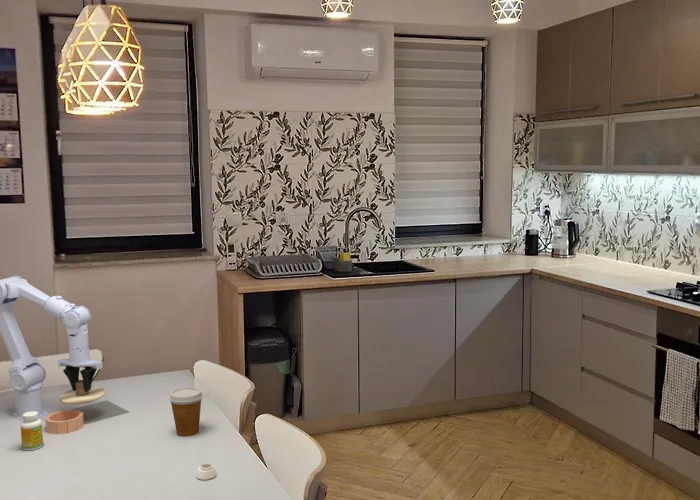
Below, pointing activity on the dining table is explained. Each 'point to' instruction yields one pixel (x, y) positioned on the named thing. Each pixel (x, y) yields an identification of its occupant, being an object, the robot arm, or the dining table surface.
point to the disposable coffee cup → (186, 410)
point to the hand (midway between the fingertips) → (81, 390)
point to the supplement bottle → (31, 431)
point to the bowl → (64, 421)
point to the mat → (100, 411)
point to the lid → (82, 394)
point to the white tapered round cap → (206, 471)
